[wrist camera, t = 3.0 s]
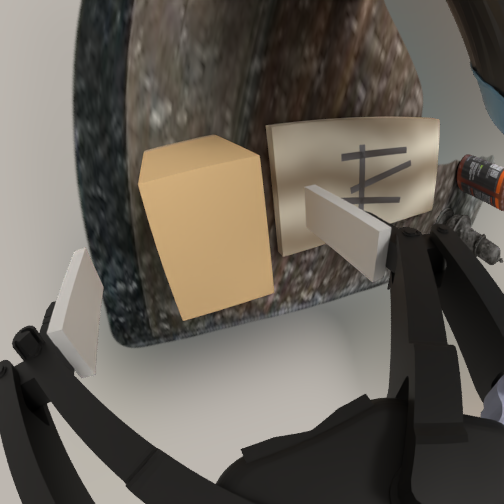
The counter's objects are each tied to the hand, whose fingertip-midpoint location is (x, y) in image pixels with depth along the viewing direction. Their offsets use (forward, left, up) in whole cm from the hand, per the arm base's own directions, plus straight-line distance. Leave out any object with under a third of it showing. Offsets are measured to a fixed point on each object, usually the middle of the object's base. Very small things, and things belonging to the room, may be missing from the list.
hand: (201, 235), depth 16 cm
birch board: (+2, +18, -8) cm, 20 cm away
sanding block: (0, 0, -8) cm, 8 cm away
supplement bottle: (+4, +39, -8) cm, 40 cm away
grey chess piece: (+12, +35, -8) cm, 38 cm away
